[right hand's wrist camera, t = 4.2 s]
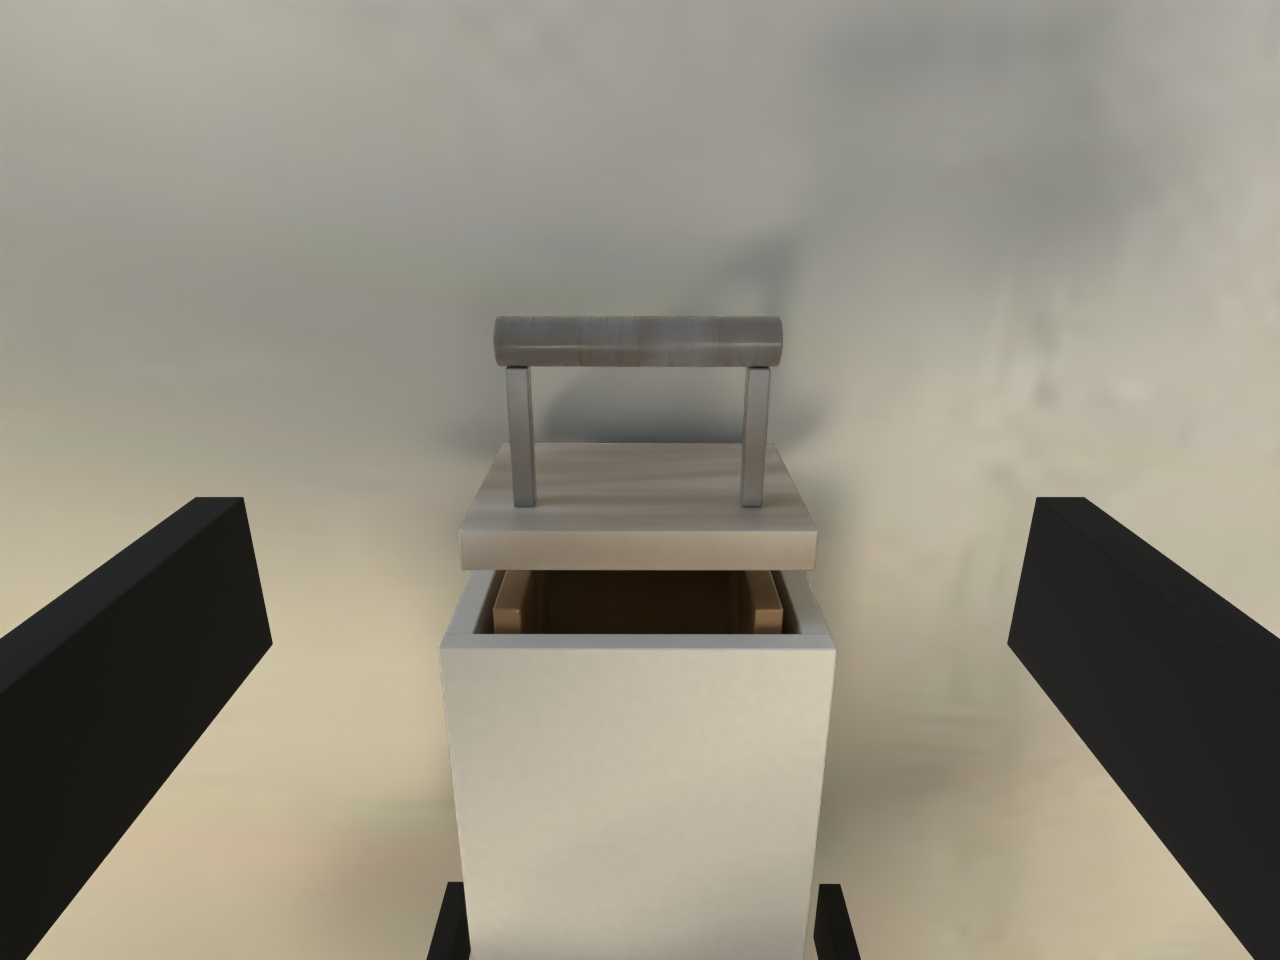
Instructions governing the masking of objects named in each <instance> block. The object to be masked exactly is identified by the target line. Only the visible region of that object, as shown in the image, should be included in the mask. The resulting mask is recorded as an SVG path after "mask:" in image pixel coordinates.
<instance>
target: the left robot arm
mask: <svg viewBox="0 0 1280 960" xmlns="http://www.w3.org/2000/svg"><path fill="white" fill-rule="evenodd" d="M813 937H814V942H815V946H816V951H817V955H818V960H861V958H860V955H859V951H858V947H857V944H856V940H855V937H854V933H853V929H852V926H851V922H850V918H849V915H848V911H847V907H846V904H845V900H844V896H843V893H842V889H841V886H840V884H820V885H819V893H818V902H817V910H816V919H815V927H814V936H813ZM470 951H471V947H470V938H469V929H468V920H467V910H466V901H465V892H464V883H463V882H448V884H447V888H446V891H445V895H444V899H443V902H442V906H441V909H440V913H439V917H438V920H437V924H436V928H435V931H434V935H433V938H432V942H431V946H430V949H429V953H428V957H427V960H469V956H470Z"/></svg>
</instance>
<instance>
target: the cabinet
mask: <svg viewBox="0 0 1280 960" xmlns="http://www.w3.org/2000/svg"><path fill="white" fill-rule="evenodd" d="M505 572H506V570H472V572H471V574H470V576H469V579H468V581H467V583H466V586H465V588H464V590H463V593H462V595H461V597H460V600H459V602H458V605H457V607H456V609H455V612H454V614H453V616H452V619H451V621H450V623H449V626H448V628H447V630H446V633H445V635H444V638H443V640H442V642H441V645H440V647H439V650H438V652H439V661H440V670H441V680H442V689H443V698H444V707H445V717H446V726H447V735H448V744H449V753H450V763H451V772H452V781H453V790H454V800H455V809H456V818H457V827H458V837H459V846H460V855H461V864H462V873H463V883H464V892H465V901H466V910H467V920H468V929H469V938H470V947H471V956H472V960H804V951H805V942H806V933H807V923H808V914H809V905H810V896H811V887H812V878H813V868H814V859H815V850H816V841H817V832H818V823H819V814H820V804H821V795H822V786H823V777H824V768H825V759H826V750H827V740H828V731H829V722H830V713H831V704H832V695H833V685H834V676H835V667H836V658H837V648H836V646H835V644H834V641H833V639H832V636H831V633H830V631H829V628H828V626H827V624H826V621H825V619H824V616H823V614H822V612H821V609H820V607H819V604H818V602H817V600H816V597H815V595H814V592H813V590H812V588H811V585H810V583H809V581H808V578H807V576H806V573H805V571H804V570H770V572H771V575H772V578H773V581H774V584H775V587H776V590H777V593H778V596H779V599H780V602H781V605H782V608H783V620H782V633H781V634H494V621H493V608H494V605H495V602H496V599H497V596H498V593H499V590H500V587H501V584H502V581H503V578H504V575H505Z"/></svg>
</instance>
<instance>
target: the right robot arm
mask: <svg viewBox="0 0 1280 960" xmlns="http://www.w3.org/2000/svg"><path fill="white" fill-rule="evenodd" d="M272 644H273V643H272V638H271V633H270V628H269V623H268V618H267V613H266V608H265V603H264V598H263V593H262V588H261V583H260V578H259V573H258V568H257V563H256V558H255V553H254V548H253V543H252V538H251V533H250V528H249V523H248V518H247V513H246V508H245V503H244V498H243V497H195V498H194V499H193V500H191V501H190V502H188V503H187V504H186V505H184V506H183V507H181V508H180V509H179V510H177V511H176V512H175V513H173V514H172V515H170V516H169V517H168V518H166V519H165V520H164V521H162V522H161V523H159V524H158V525H157V526H155V527H154V528H153V529H151V530H150V531H148V532H147V533H146V534H144V535H143V536H142V537H140V538H139V539H137V540H136V541H135V542H133V543H132V544H130V545H129V546H128V547H126V548H125V549H124V550H122V551H121V552H119V553H118V554H117V555H115V556H114V557H113V558H111V559H110V560H108V561H107V562H106V563H104V564H103V565H102V566H100V567H99V568H97V569H96V570H95V571H93V572H92V573H90V574H89V575H88V576H86V577H85V578H84V579H82V580H81V581H79V582H78V583H77V584H75V585H74V586H73V587H71V588H70V589H68V590H67V591H66V592H64V593H63V594H62V595H60V596H59V597H57V598H56V599H55V600H53V601H52V602H51V603H49V604H48V605H46V606H45V607H44V608H42V609H41V610H39V611H38V612H37V613H35V614H34V615H33V616H31V617H30V618H28V619H27V620H26V621H24V622H23V623H22V624H20V625H19V626H17V627H16V628H15V629H13V630H12V631H11V632H9V633H8V634H6V635H5V636H4V637H2V638H1V639H0V960H26V959H27V957H28V956H29V955H30V953H31V952H32V951H33V950H34V948H35V947H36V946H37V944H38V943H39V942H40V941H41V939H42V938H43V937H44V936H45V934H46V933H47V932H48V930H49V929H50V928H51V927H52V925H53V924H54V923H55V921H56V920H57V919H58V918H59V916H60V915H61V914H62V913H63V911H64V910H65V909H66V907H67V906H68V905H69V904H70V902H71V901H72V900H73V898H74V897H75V896H76V895H77V893H78V892H79V891H80V890H81V888H82V887H83V886H84V884H85V883H86V882H87V881H88V879H89V878H90V877H91V876H92V874H93V873H94V872H95V870H96V869H97V868H98V867H99V865H100V864H101V863H102V861H103V860H104V859H105V858H106V856H107V855H108V854H109V853H110V851H111V850H112V849H113V847H114V846H115V845H116V844H117V842H118V841H119V840H120V838H121V837H122V836H123V835H124V833H125V832H126V831H127V830H128V828H129V827H130V826H131V824H132V823H133V822H134V821H135V819H136V818H137V817H138V815H139V814H140V813H141V812H142V810H143V809H144V808H145V807H146V805H147V804H148V803H149V801H150V800H151V799H152V798H153V796H154V795H155V794H156V792H157V791H158V790H159V789H160V787H161V786H162V785H163V784H164V782H165V781H166V780H167V778H168V777H169V776H170V775H171V773H172V772H173V771H174V769H175V768H176V767H177V766H178V764H179V763H180V762H181V761H182V759H183V758H184V757H185V755H186V754H187V753H188V752H189V750H190V749H191V748H192V747H193V745H194V744H195V743H196V741H197V740H198V739H199V738H200V736H201V735H202V734H203V732H204V731H205V730H206V729H207V727H208V726H209V725H210V724H211V722H212V721H213V720H214V718H215V717H216V716H217V715H218V713H219V712H220V711H221V709H222V708H223V707H224V706H225V704H226V703H227V702H228V701H229V699H230V698H231V697H232V695H233V694H234V693H235V692H236V690H237V689H238V688H239V686H240V685H241V684H242V683H243V681H244V680H245V679H246V678H247V676H248V675H249V674H250V672H251V671H252V670H253V669H254V667H255V666H256V665H257V663H258V662H259V661H260V660H261V658H262V657H263V656H264V655H265V653H266V652H267V651H268V649H269V648H270V647H271V646H272ZM1007 644H1008V646H1009V647H1010V648H1011V649H1012V651H1013V652H1014V653H1015V655H1016V656H1017V657H1018V658H1019V660H1020V661H1021V662H1022V664H1023V665H1024V666H1025V667H1026V669H1027V670H1028V671H1029V672H1030V674H1031V675H1032V676H1033V678H1034V679H1035V680H1036V681H1037V683H1038V684H1039V685H1040V687H1041V688H1042V689H1043V690H1044V692H1045V693H1046V694H1047V695H1048V697H1049V698H1050V699H1051V701H1052V702H1053V703H1054V704H1055V706H1056V707H1057V708H1058V710H1059V711H1060V712H1061V713H1062V715H1063V716H1064V717H1065V718H1066V720H1067V721H1068V722H1069V724H1070V725H1071V726H1072V727H1073V729H1074V730H1075V731H1076V733H1077V734H1078V735H1079V736H1080V738H1081V739H1082V740H1083V741H1084V743H1085V744H1086V745H1087V747H1088V748H1089V749H1090V750H1091V752H1092V753H1093V754H1094V755H1095V757H1096V758H1097V759H1098V761H1099V762H1100V763H1101V764H1102V766H1103V767H1104V768H1105V770H1106V771H1107V772H1108V773H1109V775H1110V776H1111V777H1112V778H1113V780H1114V781H1115V782H1116V784H1117V785H1118V786H1119V787H1120V789H1121V790H1122V791H1123V793H1124V794H1125V795H1126V796H1127V798H1128V799H1129V800H1130V801H1131V803H1132V804H1133V805H1134V807H1135V808H1136V809H1137V810H1138V812H1139V813H1140V814H1141V816H1142V817H1143V818H1144V819H1145V821H1146V822H1147V823H1148V824H1149V826H1150V827H1151V828H1152V830H1153V831H1154V832H1155V833H1156V835H1157V836H1158V837H1159V839H1160V840H1161V841H1162V842H1163V844H1164V845H1165V846H1166V847H1167V849H1168V850H1169V851H1170V853H1171V854H1172V855H1173V856H1174V858H1175V859H1176V860H1177V861H1178V863H1179V864H1180V865H1181V867H1182V868H1183V869H1184V870H1185V872H1186V873H1187V874H1188V876H1189V877H1190V878H1191V879H1192V881H1193V882H1194V883H1195V884H1196V886H1197V887H1198V888H1199V890H1200V891H1201V892H1202V893H1203V895H1204V896H1205V897H1206V899H1207V900H1208V901H1209V902H1210V904H1211V905H1212V906H1213V907H1214V909H1215V910H1216V911H1217V913H1218V914H1219V915H1220V916H1221V918H1222V919H1223V920H1224V922H1225V923H1226V924H1227V925H1228V927H1229V928H1230V929H1231V930H1232V932H1233V933H1234V934H1235V936H1236V937H1237V938H1238V939H1239V941H1240V942H1241V943H1242V945H1243V946H1244V947H1245V948H1246V950H1247V951H1248V952H1249V953H1250V955H1251V956H1252V957H1253V959H1254V960H1280V639H1279V638H1278V637H1276V636H1275V635H1274V634H1272V633H1271V632H1269V631H1268V630H1267V629H1265V628H1264V627H1263V626H1261V625H1260V624H1258V623H1257V622H1256V621H1254V620H1253V619H1252V618H1250V617H1249V616H1247V615H1246V614H1245V613H1243V612H1242V611H1240V610H1239V609H1238V608H1236V607H1235V606H1234V605H1232V604H1231V603H1229V602H1228V601H1227V600H1225V599H1224V598H1223V597H1221V596H1220V595H1218V594H1217V593H1216V592H1214V591H1213V590H1212V589H1210V588H1209V587H1207V586H1206V585H1205V584H1203V583H1202V582H1201V581H1199V580H1198V579H1196V578H1195V577H1194V576H1192V575H1191V574H1189V573H1188V572H1187V571H1185V570H1184V569H1183V568H1181V567H1180V566H1178V565H1177V564H1176V563H1174V562H1173V561H1172V560H1170V559H1169V558H1167V557H1166V556H1165V555H1163V554H1162V553H1161V552H1159V551H1158V550H1156V549H1155V548H1154V547H1152V546H1151V545H1149V544H1148V543H1147V542H1145V541H1144V540H1143V539H1141V538H1140V537H1138V536H1137V535H1136V534H1134V533H1133V532H1132V531H1130V530H1129V529H1127V528H1126V527H1125V526H1123V525H1122V524H1121V523H1119V522H1118V521H1116V520H1115V519H1114V518H1112V517H1111V516H1110V515H1108V514H1107V513H1105V512H1104V511H1103V510H1101V509H1100V508H1098V507H1097V506H1096V505H1094V504H1093V503H1092V502H1090V501H1089V500H1087V499H1086V498H1085V497H1037V498H1036V503H1035V508H1034V513H1033V518H1032V523H1031V528H1030V533H1029V538H1028V543H1027V548H1026V553H1025V558H1024V563H1023V568H1022V573H1021V578H1020V583H1019V588H1018V593H1017V598H1016V602H1015V607H1014V612H1013V617H1012V622H1011V627H1010V632H1009V637H1008V642H1007Z"/></svg>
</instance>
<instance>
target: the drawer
mask: <svg viewBox="0 0 1280 960" xmlns="http://www.w3.org/2000/svg"><path fill="white" fill-rule="evenodd" d="M782 345H783V330H782V323H781V319H780V318H779V317H735V316H498V317H497V318H496V320H495V324H494V353H495V359H496V362H497V364H498V366H507V368H506V370H505V372H506V388H507V404H508V420H509V436H510V443H503V444H502V446H501V448H500V450H499V452H498V454H497V456H496V458H495V460H494V462H493V464H492V466H491V468H490V469H489V471H488V473H487V475H486V477H485V479H484V481H483V483H482V485H481V487H480V489H479V491H478V493H477V495H476V497H475V499H474V501H473V503H472V505H471V507H470V509H469V511H468V512H467V514H466V516H465V518H464V520H463V522H462V524H461V526H460V528H459V530H458V539H459V550H460V561H461V569H462V570H506V572H505V575H504V578H503V581H502V584H501V587H500V590H499V593H498V596H497V599H496V602H495V605H494V608H493V621H494V634H781V633H782V620H783V608H782V605H781V602H780V599H779V596H778V593H777V590H776V587H775V584H774V581H773V578H772V575H771V572H770V570H814V569H815V560H816V549H817V538H818V531H817V529H816V527H815V525H814V523H813V521H812V519H811V517H810V515H809V513H808V511H807V509H806V507H805V505H804V503H803V501H802V499H801V497H800V495H799V493H798V491H797V489H796V487H795V485H794V483H793V481H792V479H791V477H790V475H789V473H788V471H787V469H786V467H785V465H784V463H783V461H782V459H781V457H780V455H779V453H778V451H777V449H776V447H775V445H774V443H766V437H767V421H768V406H769V390H770V374H771V370H770V368H769V367H776V366H778V365H779V363H780V360H781V355H782ZM530 366H582V367H746V380H745V399H744V419H743V438H742V443H534V431H533V411H532V391H531V371H530Z"/></svg>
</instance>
